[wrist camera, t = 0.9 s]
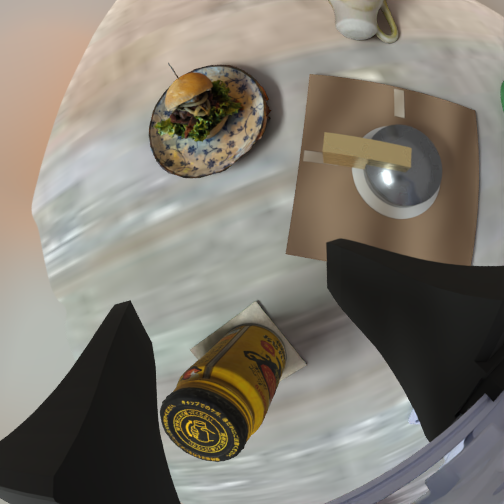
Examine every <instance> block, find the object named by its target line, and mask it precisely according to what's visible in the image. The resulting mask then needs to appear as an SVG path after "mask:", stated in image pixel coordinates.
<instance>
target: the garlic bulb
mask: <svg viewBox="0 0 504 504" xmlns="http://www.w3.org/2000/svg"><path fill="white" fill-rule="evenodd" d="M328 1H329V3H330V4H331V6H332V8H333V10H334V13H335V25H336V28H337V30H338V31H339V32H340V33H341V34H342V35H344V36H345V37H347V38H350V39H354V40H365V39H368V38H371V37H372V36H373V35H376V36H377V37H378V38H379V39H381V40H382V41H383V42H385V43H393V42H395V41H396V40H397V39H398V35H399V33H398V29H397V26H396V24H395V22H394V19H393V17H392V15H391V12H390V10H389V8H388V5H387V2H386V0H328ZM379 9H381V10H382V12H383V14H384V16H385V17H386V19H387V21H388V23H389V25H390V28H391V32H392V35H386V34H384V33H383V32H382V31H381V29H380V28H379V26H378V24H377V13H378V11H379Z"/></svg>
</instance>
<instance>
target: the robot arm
mask: <svg viewBox="0 0 504 504" xmlns="http://www.w3.org/2000/svg"><path fill="white" fill-rule="evenodd" d="M326 253H327V288H328V289H329V291H330V293H331V294H332V296H333V297H334V299H335V300H336V302H337V303H338V305H339V306H340V307H341V309H342V310H343V311H344V312H345V313H346V314H347V315H348V317H349V318H350V319H351V320H352V321H353V322H354V323H355V324H356V326H357V327H358V328H359V329H360V330H361V331H362V332H363V333H364V335H365V336H366V337H367V338H368V339H369V340H370V341H371V342H372V344H373V345H374V346H375V347H376V348H377V350H378V351H379V352H380V353H381V355H382V356H383V358H384V359H385V361H386V362H387V364H388V365H389V367H390V368H391V370H392V371H393V373H394V375H395V376H396V378H397V380H398V381H399V383H400V385H401V386H402V388H403V390H404V391H405V393H406V395H407V397H408V399H409V401H410V403H411V405H412V407H413V410H412V412H411V414H410V416H409V418H408V421H409V423H410V424H421V426H422V429H423V431H424V434H425V436H426V438H427V439H428V441H429V442H430V443H429V444H427V445H426V446H425V447H423V448H422V449H421V450H419V451H418V452H416V453H415V454H414V455H412V456H411V457H409V458H408V459H406V460H405V461H403V462H402V463H400V464H399V465H397V466H396V467H394V468H392V469H391V470H389V471H387V472H386V473H384V474H382V475H381V476H379V477H377V478H376V479H374V480H372V481H370V482H368V483H367V484H365V485H363V486H361V487H359V488H357V489H355V490H353V491H351V492H349V493H347V494H345V495H343V496H341V497H339V498H336V499H334V500H332V501H330V502H327V503H325V504H376V503H377V502H379V501H381V500H383V499H384V498H386V497H388V496H389V495H391V494H393V493H394V492H396V491H397V490H399V489H401V488H402V487H404V486H405V485H407V484H408V483H410V482H411V481H413V480H414V479H415V478H417V477H418V476H420V475H421V474H422V473H424V472H425V471H427V470H428V469H429V468H430V467H432V466H433V465H434V464H436V463H437V462H438V461H439V460H441V459H442V458H443V457H444V459H445V463H444V464H443V465H442V466H440V469H439V470H438V471H437V472H435V473H434V474H433V475H432V476H430V477H429V478H428V479H426V480H425V484H426V485H427V487H428V488H429V490H430V491H428V492H427V493H425V494H424V495H423V496H421V497H420V498H418V499H417V500H415V501H414V502H412V503H411V504H504V266H466V265H455V264H447V263H440V262H434V261H429V260H424V259H419V258H415V257H411V256H406V255H402V254H399V253H395V252H391V251H388V250H384V249H381V248H377V247H374V246H370V245H367V244H363V243H360V242H356V241H352V240H347V239H342V238H339V239H336V240H333V241H329V242H326ZM416 419H418V420H416ZM0 498H1V499H3V500H4V501H6V502H8V503H10V504H181V503H180V501H179V498H178V495H177V493H176V490H175V487H174V484H173V481H172V478H171V475H170V471H169V468H168V464H167V461H166V457H165V453H164V449H163V444H162V440H161V435H160V430H159V422H158V409H157V389H156V366H155V359H154V353H153V346H152V342H151V340H150V338H149V336H148V334H147V332H146V331H145V329H144V327H143V325H142V323H141V321H140V319H139V317H138V315H137V313H136V311H135V309H134V307H133V305H132V303H131V300H130V301H126V302H123V303H119V304H116V305H114V307H113V308H112V309H111V310H110V312H109V313H108V315H107V316H106V318H105V319H104V321H103V322H102V324H101V325H100V327H99V328H98V330H97V331H96V333H95V335H94V336H93V338H92V339H91V341H90V342H89V344H88V345H87V347H86V348H85V350H84V351H83V353H82V354H81V355H80V357H79V358H78V360H77V361H76V363H75V364H74V366H73V367H72V368H71V370H70V371H69V373H68V374H67V375H66V376H65V378H64V379H63V380H62V381H61V383H60V384H59V385H58V386H57V388H56V389H55V390H54V391H53V392H52V393H51V395H50V396H49V397H48V398H47V399H46V400H45V401H44V402H43V403H42V404H41V405H40V406H39V407H38V409H37V410H36V411H35V412H34V413H33V414H32V415H30V417H28V418H27V419H26V420H25V421H24V422H23V423H22V424H21V425H20V426H18V427H17V428H16V429H15V430H14V431H13V432H11V433H10V434H9V435H8V436H6V437H5V438H4V439H2V440H1V441H0Z"/></svg>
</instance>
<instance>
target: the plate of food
mask: <svg viewBox="0 0 504 504" xmlns="http://www.w3.org/2000/svg"><path fill="white" fill-rule="evenodd" d="M168 64H169V63H168ZM169 66H170V64H169ZM170 67H171V66H170ZM171 69H172V67H171ZM172 70H173V69H172ZM173 72H174V73H175V71H174V70H173ZM175 75H176V73H175ZM176 76H177V75H176ZM177 78H178V76H177ZM267 100H269V99H268V97H267V95H266V93H265V91H264V89H263V87H261V86H260V85H259V84H258V82H257V81H256V80H255V79H254V78H253V77H252V76H251V75H249V74H248V73H246V72H245V71H243V70H241V69H239V68H236V67H233V66H230V65H210V66H206V67H202V68H197V69H194V70H193V71H191V72H189V73H187V74H185V75H183V76H181V77H179V78H178V79H176V80H175V81H174V82H173V84H172V85H171V86H170V87H169V88H168V89H167V90H166V91H165V92H164V93H163V95H162V96H161V98H160V99H159V101H158V102H157V104H156V106H155V108H154V110H153V113H152V118H151V121H150V125H149V140H150V147H151V151H152V153H153V155H154V156H155V159H156V161H157V162H158V164H159V165H160V166H161V167H162V169H164V170H165V171H167V172H168V173H170V174H174V175H178V176H180V177H183V178H201V177H205V176H208V175H212V174H216V173H220V172H222V171H225V170H226V169H228V168H229V167H230V166H231V165H233V164H234V163H235V162H236V161H237V160H238V159H239V158H241V157H242V156H243V155H244V154H246V153H247V152H248V151H249V150H251V149H252V147H253V145H254V144H255V143H256V142H257V141H258V139H261V137H262V135H263V133H264V131H265V127H266V123H267V119H268V118H270V117H269V116H268V114H269V112H270V111H271V110H270V109H269V107H268V105H267V103H266V101H267Z"/></svg>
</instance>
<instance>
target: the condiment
mask: <svg viewBox="0 0 504 504" xmlns="http://www.w3.org/2000/svg"><path fill="white" fill-rule="evenodd" d="M190 351H191V352H192V353H193V354H194V356H195V357H197V359H198V361H197V362H196V363H195V364H193V365H192V366H191V367H190V368H189V369H188V370H187V371H186V372H185V373H184V374H183V375H182V376H181V377H180V379H179V381H178V384H177V387H176V389H175V390H174V391H173V392H172V393H171V394H170V395H168V396H167V397H166V399H165V400H164V401H163V402H162V406H161V409H160V416H161V422H162V425H163V428H164V430H165V432H166V434H167V435H168V436H169V438H170V439H171V440H172V441H173V442H174V443H175V444H176V445H177V446H178V447H179V448H181V449H182V450H183V451H184V452H186V453H188V454H190V455H192V456H194V457H197V458H200V459H202V460H206V461H216V462H220V461H225V460H229V459H231V458H234V457H235V456H237V455H238V454H239V453H240V452H241V450H242V449H244V446H245V444H246V442H247V441H248V439H249V438H250V436H251V435H252V434H254V433H255V432H256V431H257V430H258V428H259V427H260V425H261V424H262V422H263V420H264V418H265V415H266V413H267V411H268V408H269V406H270V403H271V401H272V399H273V397H274V395H275V392H276V389H277V387H278V384H279V381H281V380H283V379H285V378H286V377H288V376H289V375H291V374H293V373H295V372H296V371H298V370H299V369H301V368H303V367H305V366H307V364H306V363H305V362H304V361H303V359H302V358H301V357H300V356H299V354H298V353H297V352H296V351H295V349H294V348H293V347H292V346H291V344H290V343H289V342H288V341H287V339H286V338H285V337H284V335H283V334H282V333H281V332H280V331H279V329H278V328H277V327H276V326H275V324H274V323H273V322H272V321H271V320H270V318H269V317H268V316H267V315H266V314H265V312H264V311H263V310H262V309H261V307H260V306H259V305H258V303H257V302H256V301H255V302H254V303H253V304H251V305H250V306H249V307H247V308H246V309H245V310H243V311H242V312H241V313H239V314H238V315H237V316H235V317H234V318H233V319H231V320H230V321H229V322H227V323H226V324H225V325H223V326H222V327H221V328H219V329H218V330H216V331H215V332H214V333H213V334H211V335H210V336H208V337H207V338H205V339H204V340H203V341H201V342H200V343H199V344H197V345H196V346H194V347H193V348H192V349H190Z"/></svg>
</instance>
